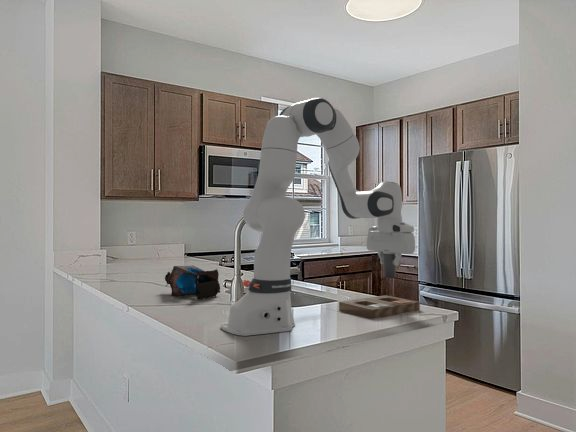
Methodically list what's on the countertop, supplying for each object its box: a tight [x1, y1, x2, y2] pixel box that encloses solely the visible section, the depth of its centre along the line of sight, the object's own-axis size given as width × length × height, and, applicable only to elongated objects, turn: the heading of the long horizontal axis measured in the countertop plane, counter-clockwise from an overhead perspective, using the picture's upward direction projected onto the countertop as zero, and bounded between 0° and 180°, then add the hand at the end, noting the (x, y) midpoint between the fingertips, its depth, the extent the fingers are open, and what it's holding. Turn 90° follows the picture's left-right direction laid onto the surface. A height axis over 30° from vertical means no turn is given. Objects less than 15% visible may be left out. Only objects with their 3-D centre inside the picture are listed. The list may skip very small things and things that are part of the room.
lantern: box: [164, 265, 221, 301], centre depth 186 cm, size 16×16×25 cm
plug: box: [382, 250, 397, 279], centre depth 164 cm, size 5×5×10 cm
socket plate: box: [338, 294, 421, 320], centre depth 160 cm, size 24×16×3 cm, turn 126°
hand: (389, 264), depth 164 cm, fingers closed on plug, 4 cm apart
